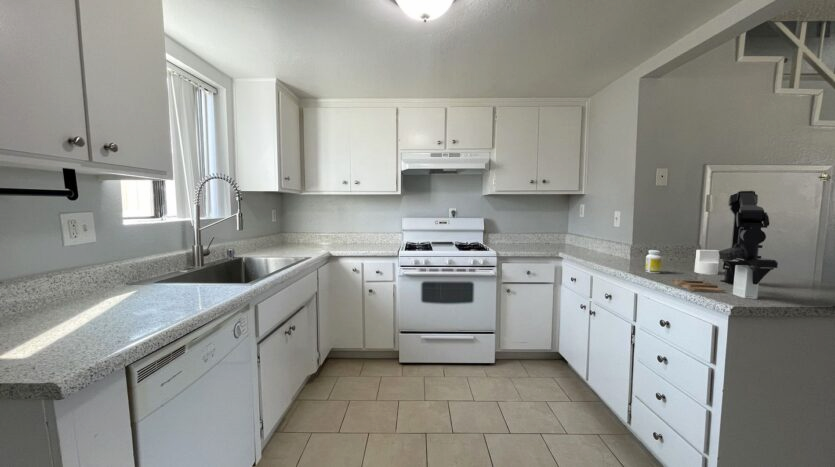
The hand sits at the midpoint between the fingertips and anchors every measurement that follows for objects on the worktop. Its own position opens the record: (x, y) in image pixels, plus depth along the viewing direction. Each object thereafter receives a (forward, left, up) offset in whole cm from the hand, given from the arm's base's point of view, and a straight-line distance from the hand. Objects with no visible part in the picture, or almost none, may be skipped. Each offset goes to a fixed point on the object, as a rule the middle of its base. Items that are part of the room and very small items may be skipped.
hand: (744, 281), depth 121 cm
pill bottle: (-41, -11, -6) cm, 43 cm away
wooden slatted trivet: (-11, -9, -6) cm, 15 cm away
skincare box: (+1, 0, -6) cm, 6 cm away
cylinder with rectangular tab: (-45, +16, -6) cm, 48 cm away
